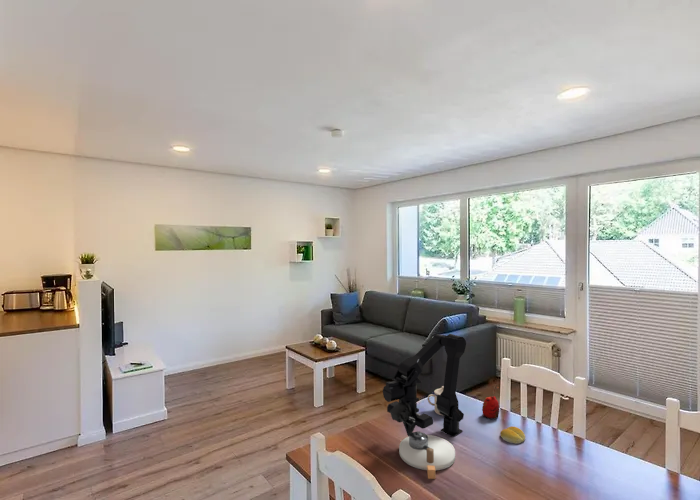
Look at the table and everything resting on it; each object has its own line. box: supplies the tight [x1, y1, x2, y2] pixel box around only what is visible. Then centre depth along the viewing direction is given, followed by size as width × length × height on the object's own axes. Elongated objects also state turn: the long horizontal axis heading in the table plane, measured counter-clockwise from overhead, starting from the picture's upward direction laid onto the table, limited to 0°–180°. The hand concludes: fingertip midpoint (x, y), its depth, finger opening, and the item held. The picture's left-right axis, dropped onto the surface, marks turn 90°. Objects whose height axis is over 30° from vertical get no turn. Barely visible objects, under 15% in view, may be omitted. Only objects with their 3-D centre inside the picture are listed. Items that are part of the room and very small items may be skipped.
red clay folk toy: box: [481, 384, 500, 420], centre depth 165 cm, size 8×7×15 cm
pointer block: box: [426, 465, 437, 480], centre depth 124 cm, size 2×2×3 cm
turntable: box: [398, 434, 456, 471], centre depth 136 cm, size 20×20×6 cm
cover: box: [408, 430, 428, 450], centre depth 139 cm, size 7×7×4 cm
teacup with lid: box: [427, 385, 444, 417], centre depth 171 cm, size 12×9×12 cm
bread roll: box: [499, 426, 526, 445], centre depth 147 cm, size 8×9×4 cm
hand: (409, 436), depth 142 cm, fingers closed
